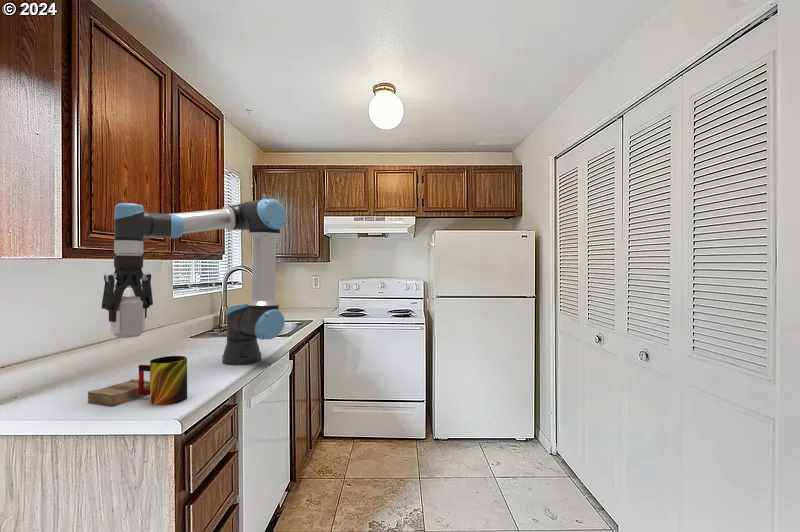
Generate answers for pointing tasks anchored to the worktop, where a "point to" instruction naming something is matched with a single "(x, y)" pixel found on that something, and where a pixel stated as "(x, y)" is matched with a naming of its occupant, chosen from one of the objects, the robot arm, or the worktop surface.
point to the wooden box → (117, 393)
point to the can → (130, 317)
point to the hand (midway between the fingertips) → (128, 330)
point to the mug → (165, 380)
